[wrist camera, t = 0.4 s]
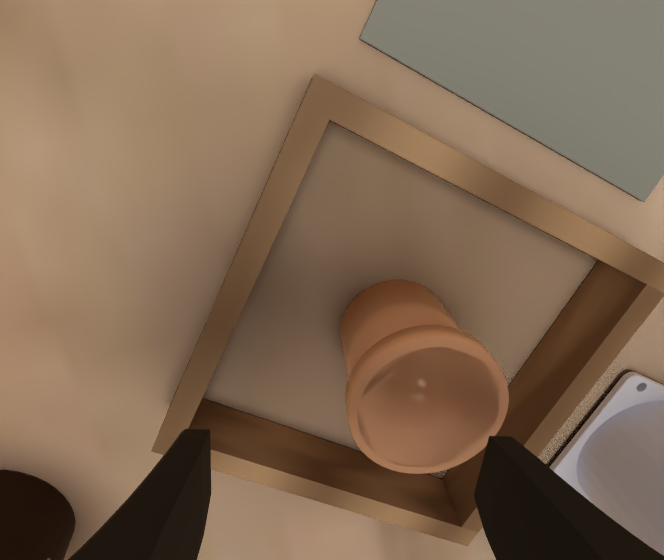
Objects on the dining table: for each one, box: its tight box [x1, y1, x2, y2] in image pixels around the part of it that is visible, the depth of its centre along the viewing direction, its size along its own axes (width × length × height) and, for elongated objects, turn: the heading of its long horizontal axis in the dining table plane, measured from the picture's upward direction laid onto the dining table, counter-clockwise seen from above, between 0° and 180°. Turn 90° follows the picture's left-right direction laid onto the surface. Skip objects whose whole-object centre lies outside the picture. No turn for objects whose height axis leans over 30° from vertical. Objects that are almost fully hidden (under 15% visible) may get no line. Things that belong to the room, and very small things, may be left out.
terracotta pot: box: [340, 280, 509, 474], centre depth 18 cm, size 6×6×6 cm
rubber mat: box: [359, 0, 664, 202], centre depth 16 cm, size 14×9×1 cm, turn 64°
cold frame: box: [152, 74, 664, 546], centre depth 19 cm, size 16×16×3 cm
